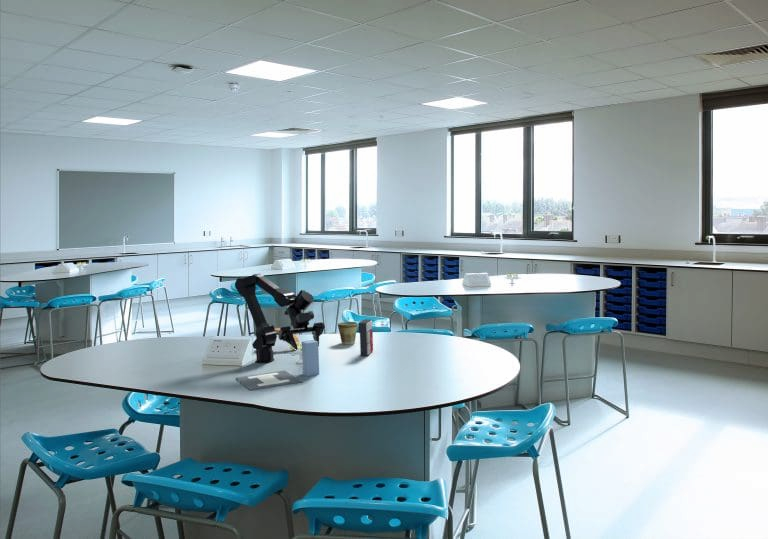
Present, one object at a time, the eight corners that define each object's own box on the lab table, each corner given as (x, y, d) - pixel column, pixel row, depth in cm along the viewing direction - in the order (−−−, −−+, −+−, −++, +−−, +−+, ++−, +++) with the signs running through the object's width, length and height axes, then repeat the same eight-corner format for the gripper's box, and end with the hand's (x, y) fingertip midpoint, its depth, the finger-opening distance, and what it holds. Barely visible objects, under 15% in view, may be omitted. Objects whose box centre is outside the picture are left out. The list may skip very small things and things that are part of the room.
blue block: (307, 376, 236) (306, 343, 235) (302, 373, 240) (301, 341, 239) (319, 374, 238) (318, 341, 237) (314, 371, 242) (313, 339, 241)
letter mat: (250, 390, 217) (250, 389, 217) (235, 378, 235) (235, 377, 235) (302, 382, 227) (302, 380, 227) (284, 371, 244) (284, 370, 244)
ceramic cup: (357, 344, 294) (357, 324, 293) (337, 345, 294) (336, 325, 293) (359, 339, 307) (358, 320, 306) (339, 340, 307) (339, 321, 306)
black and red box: (368, 356, 268) (367, 323, 266) (359, 356, 268) (358, 323, 267) (373, 351, 278) (372, 319, 277) (364, 351, 279) (363, 319, 278)
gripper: (279, 307, 240) (289, 338, 231) (322, 302, 249) (334, 332, 240) (273, 324, 247) (284, 355, 239) (315, 319, 256) (327, 349, 247)
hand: (307, 347), depth 241 cm, fingers open, 9 cm apart
